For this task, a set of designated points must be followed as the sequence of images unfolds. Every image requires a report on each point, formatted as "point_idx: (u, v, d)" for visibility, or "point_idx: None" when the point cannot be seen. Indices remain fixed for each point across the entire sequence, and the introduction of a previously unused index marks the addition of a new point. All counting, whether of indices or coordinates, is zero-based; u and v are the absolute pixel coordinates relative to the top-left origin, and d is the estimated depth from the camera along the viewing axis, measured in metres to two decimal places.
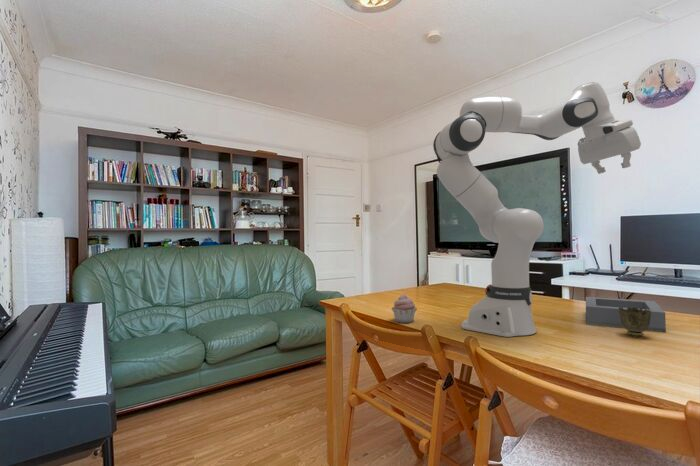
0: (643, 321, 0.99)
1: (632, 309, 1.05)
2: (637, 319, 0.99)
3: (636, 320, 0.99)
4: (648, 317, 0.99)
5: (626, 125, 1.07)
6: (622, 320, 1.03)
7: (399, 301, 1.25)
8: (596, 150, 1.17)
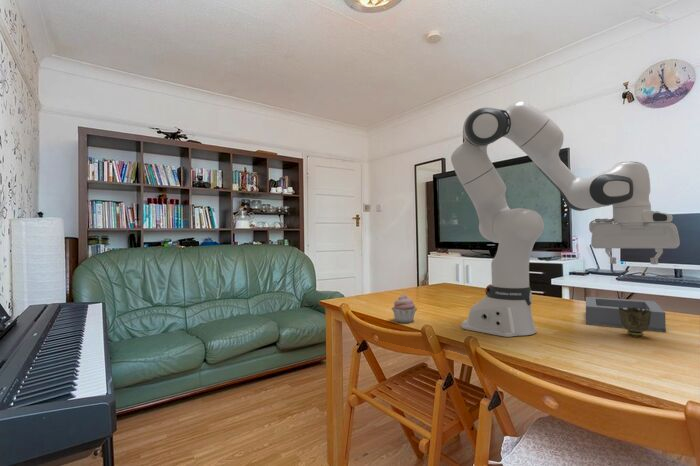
0: (643, 321, 0.99)
1: (632, 309, 1.05)
2: (637, 319, 0.99)
3: (636, 320, 0.99)
4: (648, 317, 0.99)
5: None
6: (622, 320, 1.03)
7: (399, 301, 1.25)
8: (624, 236, 1.02)
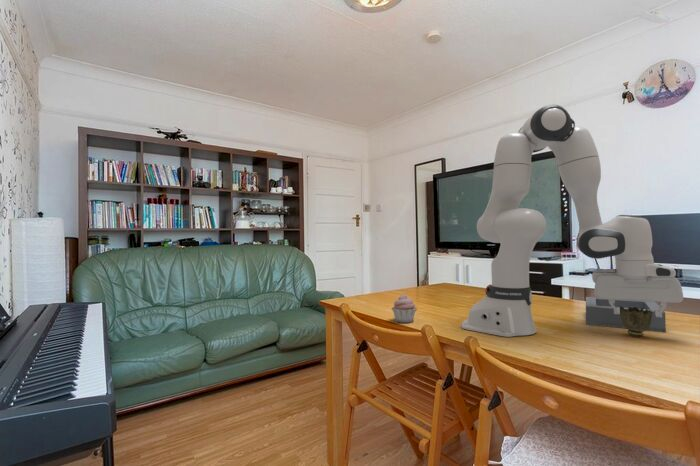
0: (644, 321, 0.99)
1: (633, 308, 1.05)
2: (638, 319, 0.99)
3: (637, 320, 0.99)
4: (649, 317, 0.99)
5: None
6: (623, 319, 1.03)
7: (399, 301, 1.25)
8: (627, 289, 1.02)
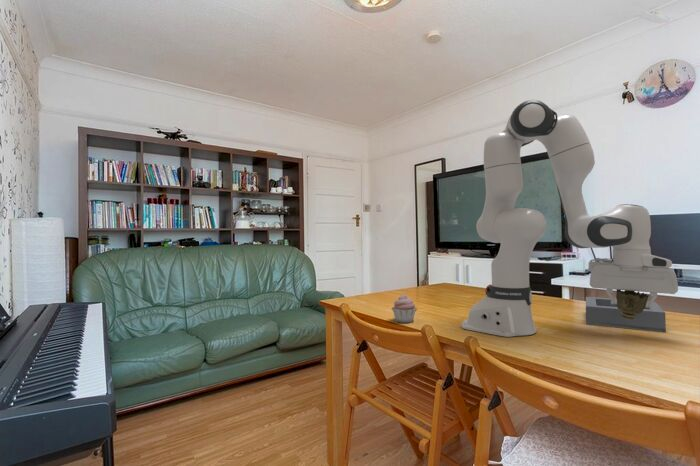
0: (638, 305, 0.99)
1: (630, 291, 1.05)
2: (634, 302, 1.00)
3: (633, 303, 1.00)
4: (645, 301, 0.99)
5: None
6: (618, 301, 1.03)
7: (399, 301, 1.25)
8: (623, 278, 1.02)
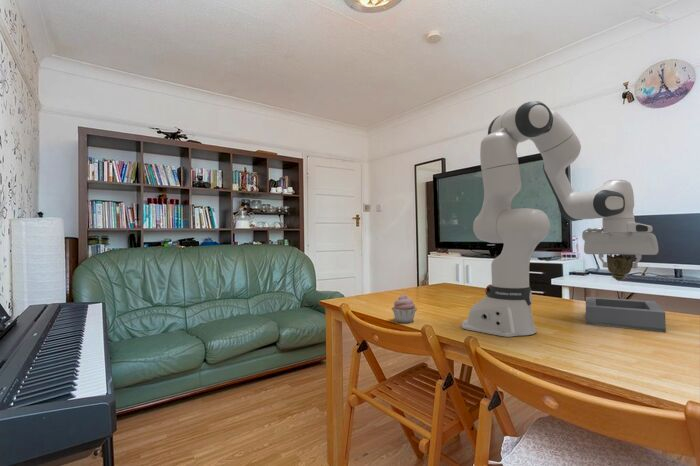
0: (626, 266, 1.16)
1: (618, 256, 1.22)
2: (621, 264, 1.16)
3: (621, 265, 1.16)
4: (631, 262, 1.16)
5: None
6: (608, 265, 1.20)
7: (399, 301, 1.25)
8: (612, 244, 1.19)
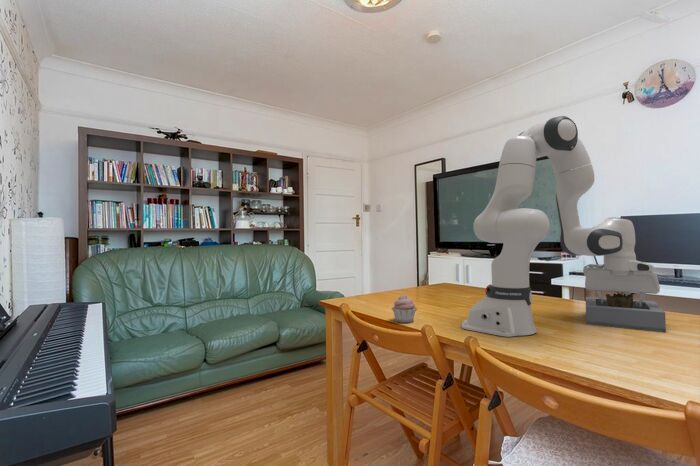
0: (626, 305, 1.16)
1: (618, 295, 1.22)
2: (622, 303, 1.16)
3: (621, 304, 1.16)
4: (631, 301, 1.16)
5: None
6: (609, 305, 1.19)
7: (399, 301, 1.25)
8: (613, 281, 1.19)
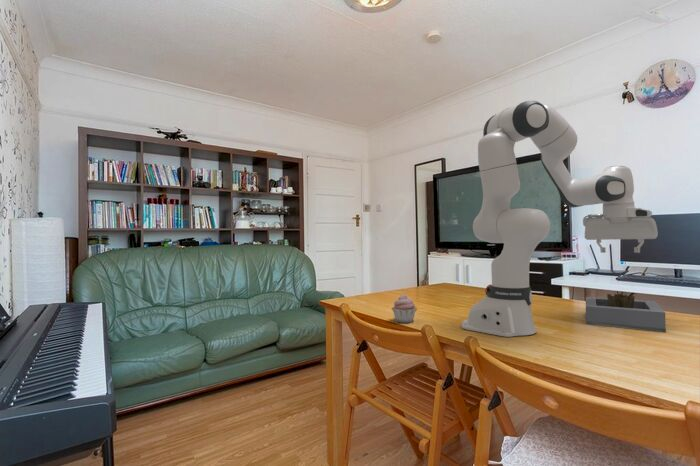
0: (627, 305, 1.16)
1: (619, 295, 1.22)
2: (623, 303, 1.16)
3: (622, 304, 1.16)
4: (632, 301, 1.16)
5: None
6: (610, 305, 1.19)
7: (399, 301, 1.25)
8: (612, 229, 1.21)
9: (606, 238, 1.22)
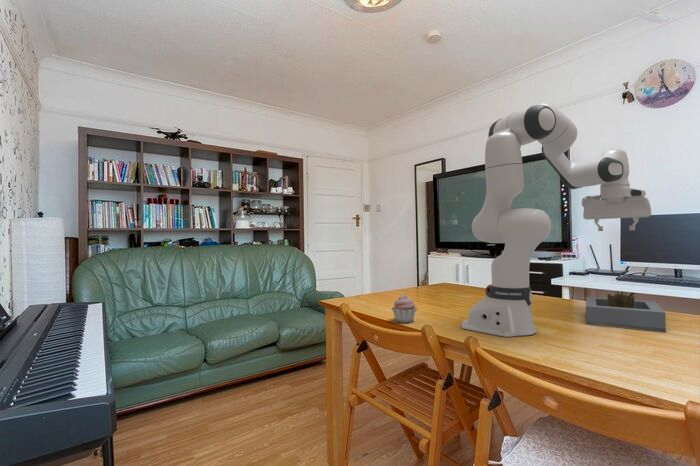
0: (627, 305, 1.16)
1: (619, 295, 1.22)
2: (623, 303, 1.16)
3: (622, 304, 1.16)
4: (632, 301, 1.16)
5: None
6: (610, 305, 1.19)
7: (399, 301, 1.25)
8: (609, 209, 1.30)
9: (603, 217, 1.31)
